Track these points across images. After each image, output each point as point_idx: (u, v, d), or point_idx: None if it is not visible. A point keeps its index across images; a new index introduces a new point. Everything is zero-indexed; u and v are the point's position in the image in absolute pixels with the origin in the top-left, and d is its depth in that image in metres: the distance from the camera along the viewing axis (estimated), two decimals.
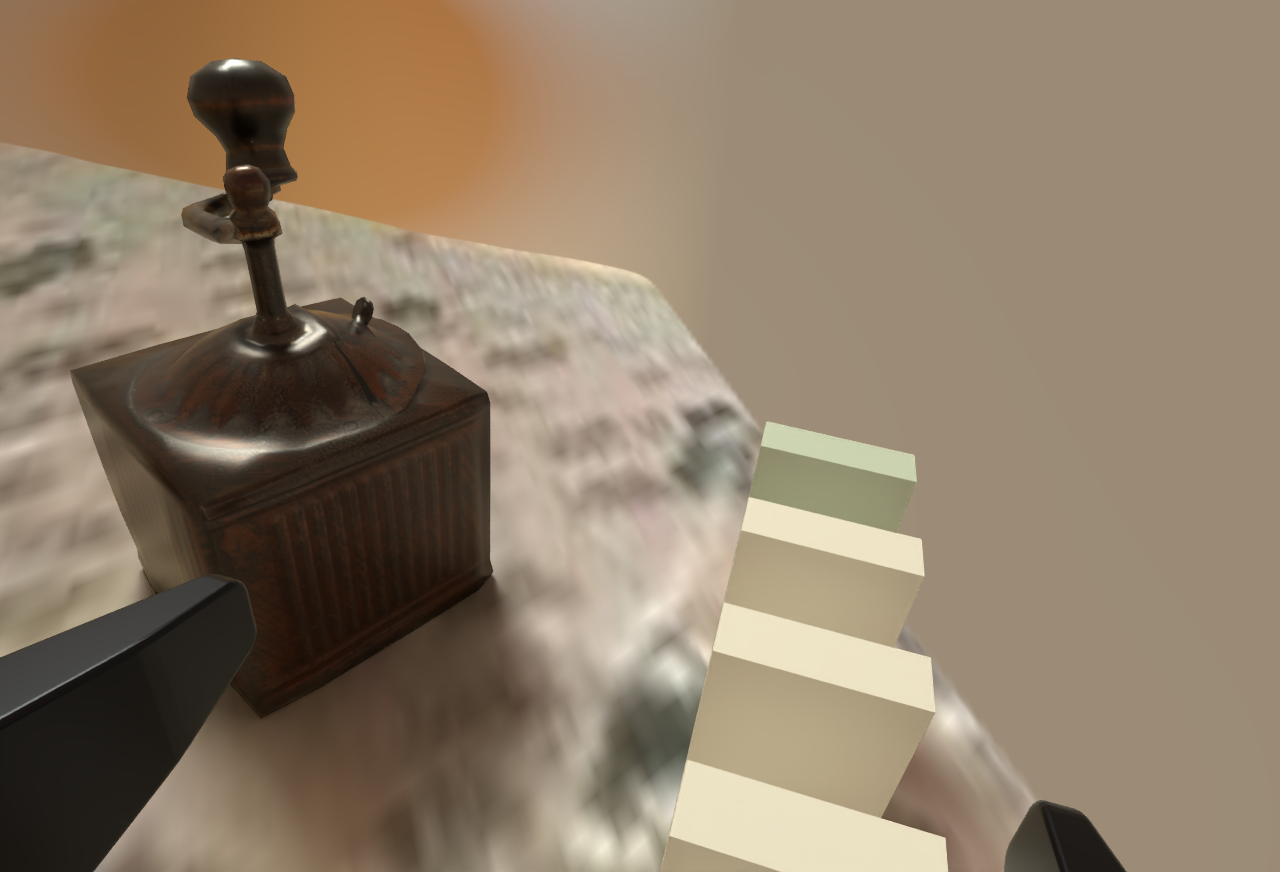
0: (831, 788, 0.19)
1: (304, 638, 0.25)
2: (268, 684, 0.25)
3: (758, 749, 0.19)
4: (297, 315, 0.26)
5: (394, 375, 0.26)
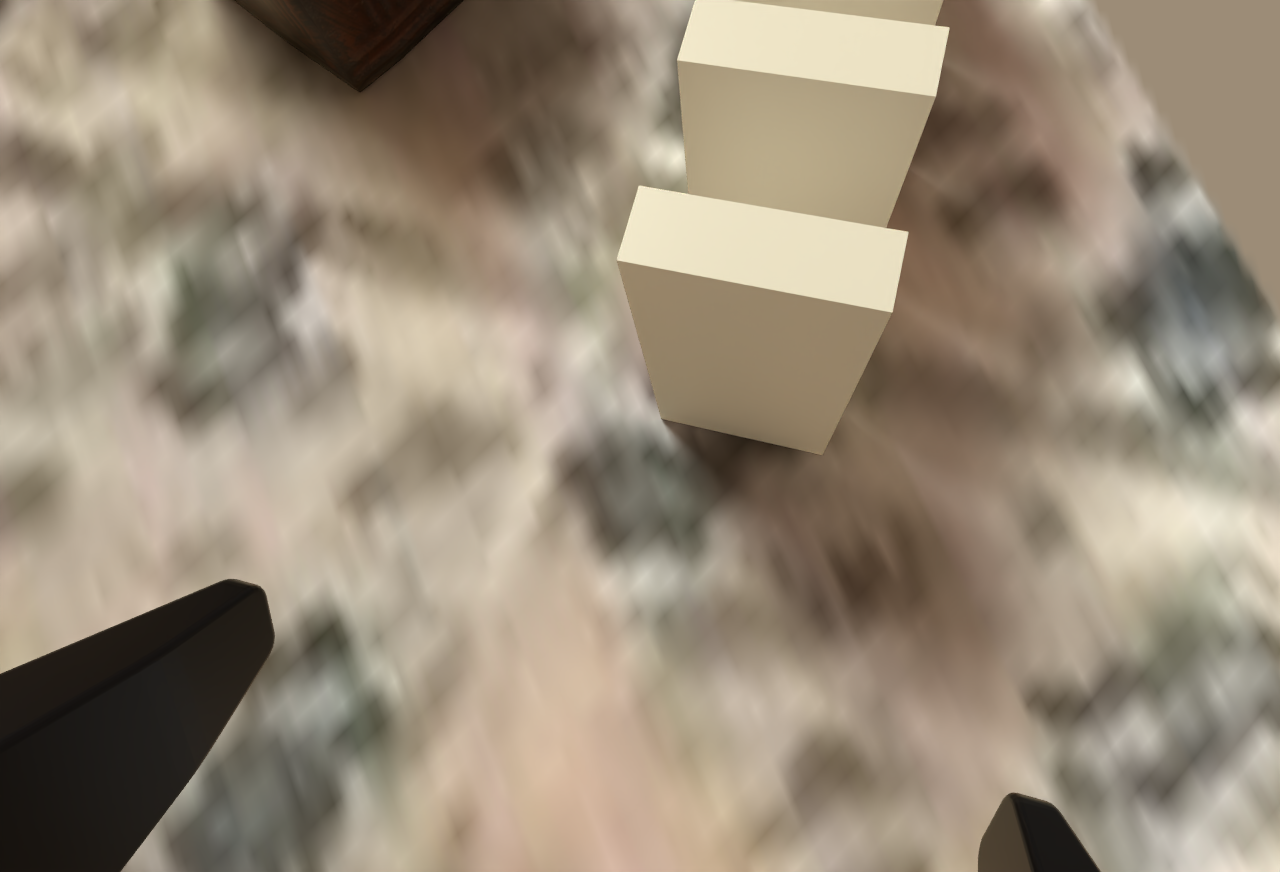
0: None
1: (365, 3, 0.26)
2: (351, 56, 0.27)
3: None
4: None
5: None
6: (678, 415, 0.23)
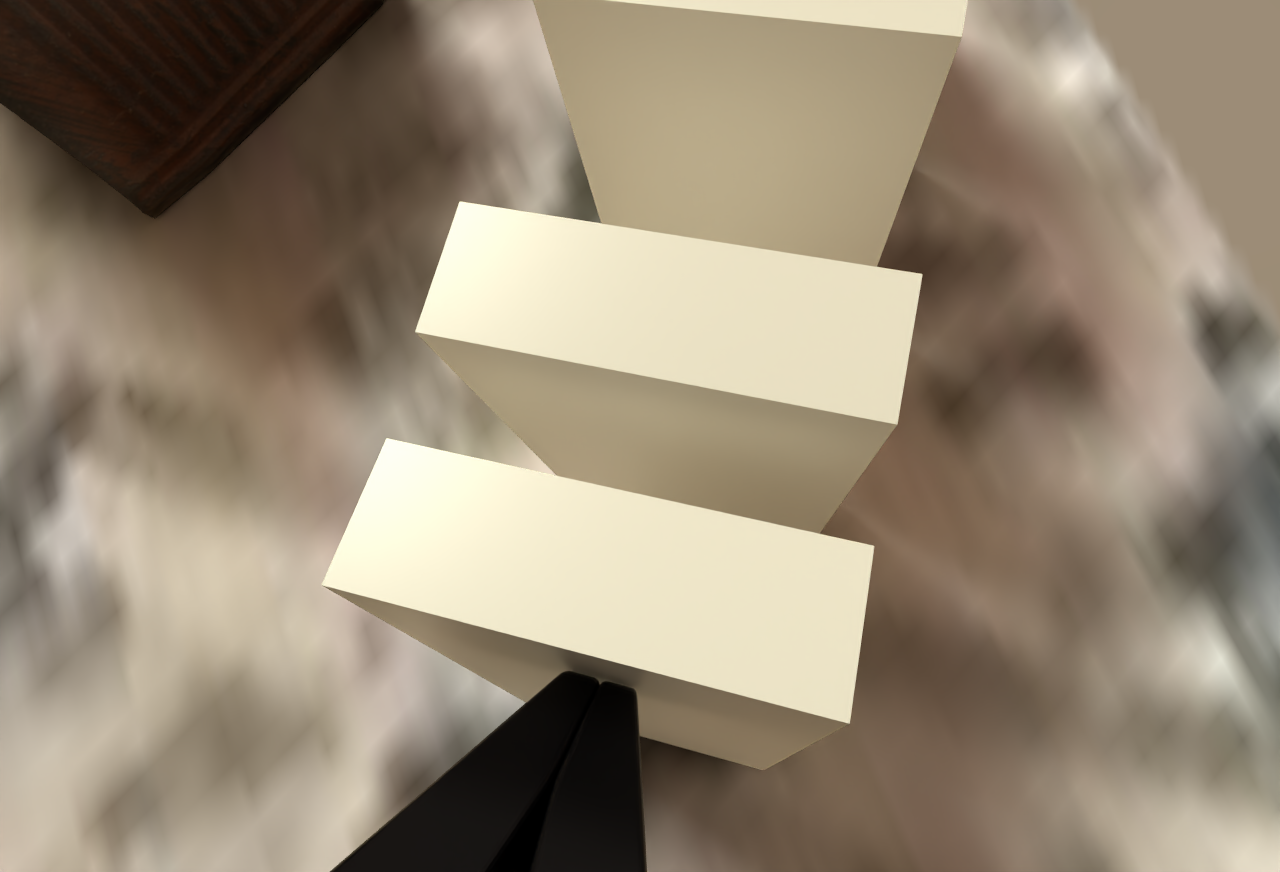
0: (804, 206, 0.12)
1: (136, 111, 0.19)
2: (130, 177, 0.20)
3: (680, 164, 0.12)
4: None
5: None
6: None
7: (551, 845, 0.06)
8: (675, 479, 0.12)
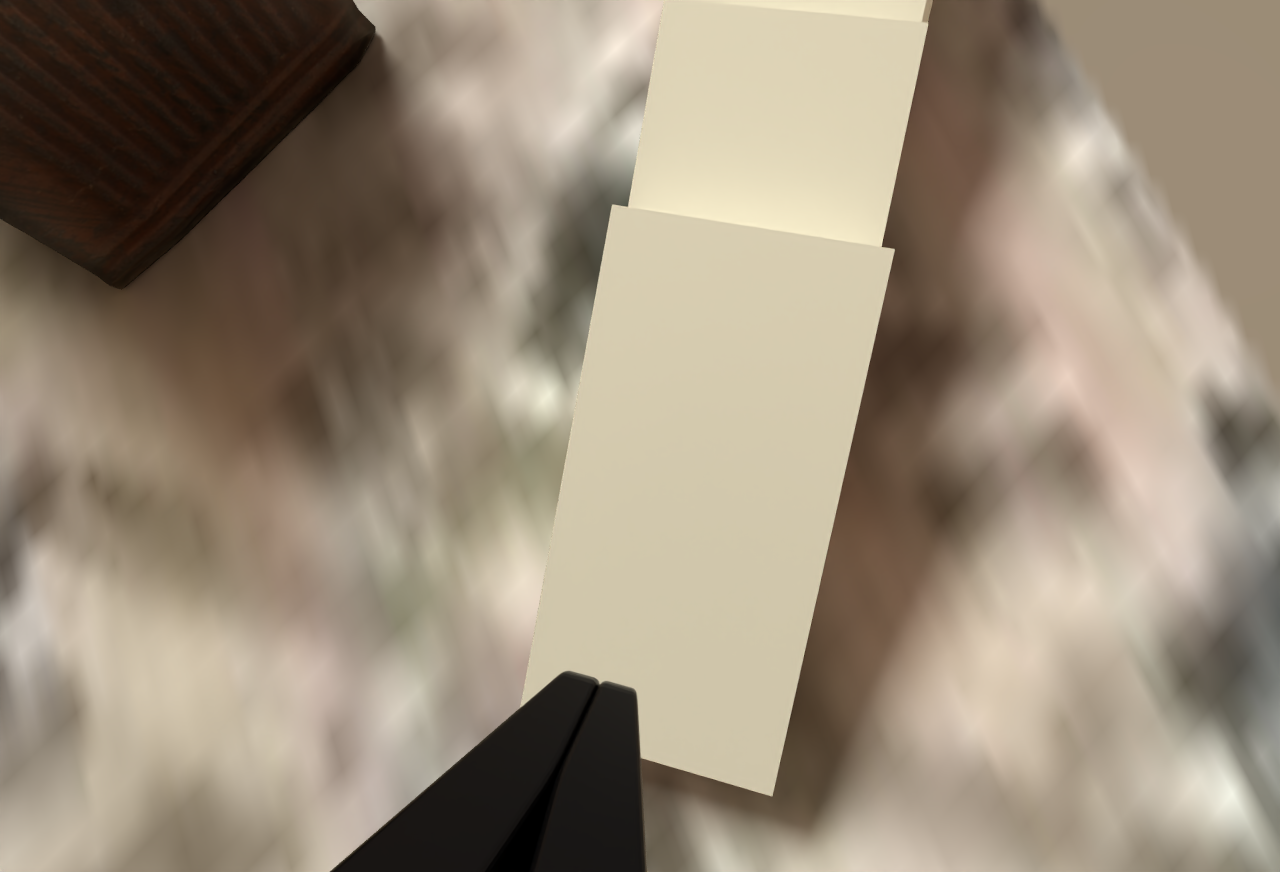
0: (854, 3, 0.16)
1: (98, 187, 0.18)
2: (93, 252, 0.19)
3: None
4: None
5: None
6: None
7: (551, 845, 0.06)
8: None
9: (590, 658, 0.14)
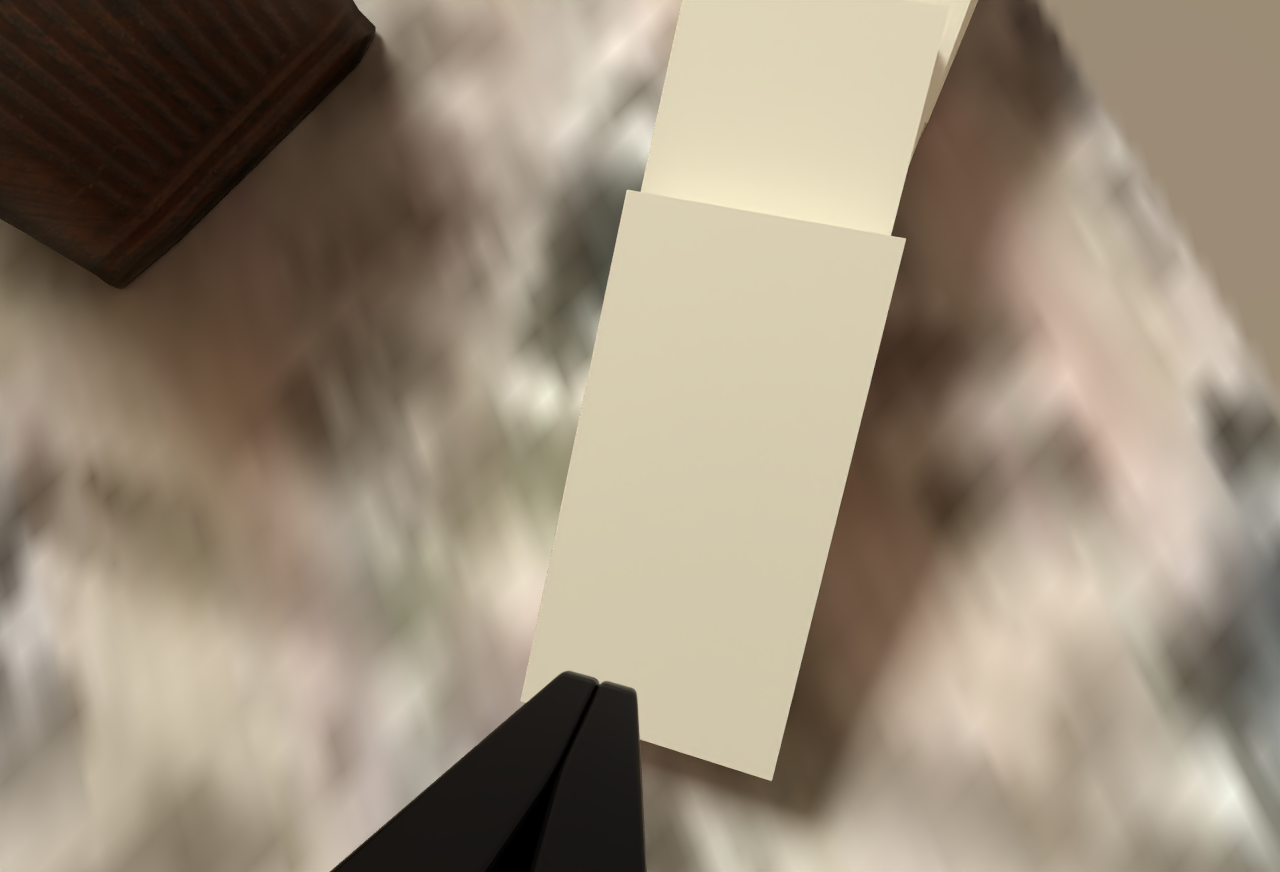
0: None
1: (97, 187, 0.18)
2: (93, 252, 0.19)
3: None
4: None
5: None
6: (556, 674, 0.15)
7: (551, 845, 0.06)
8: None
9: (594, 639, 0.15)
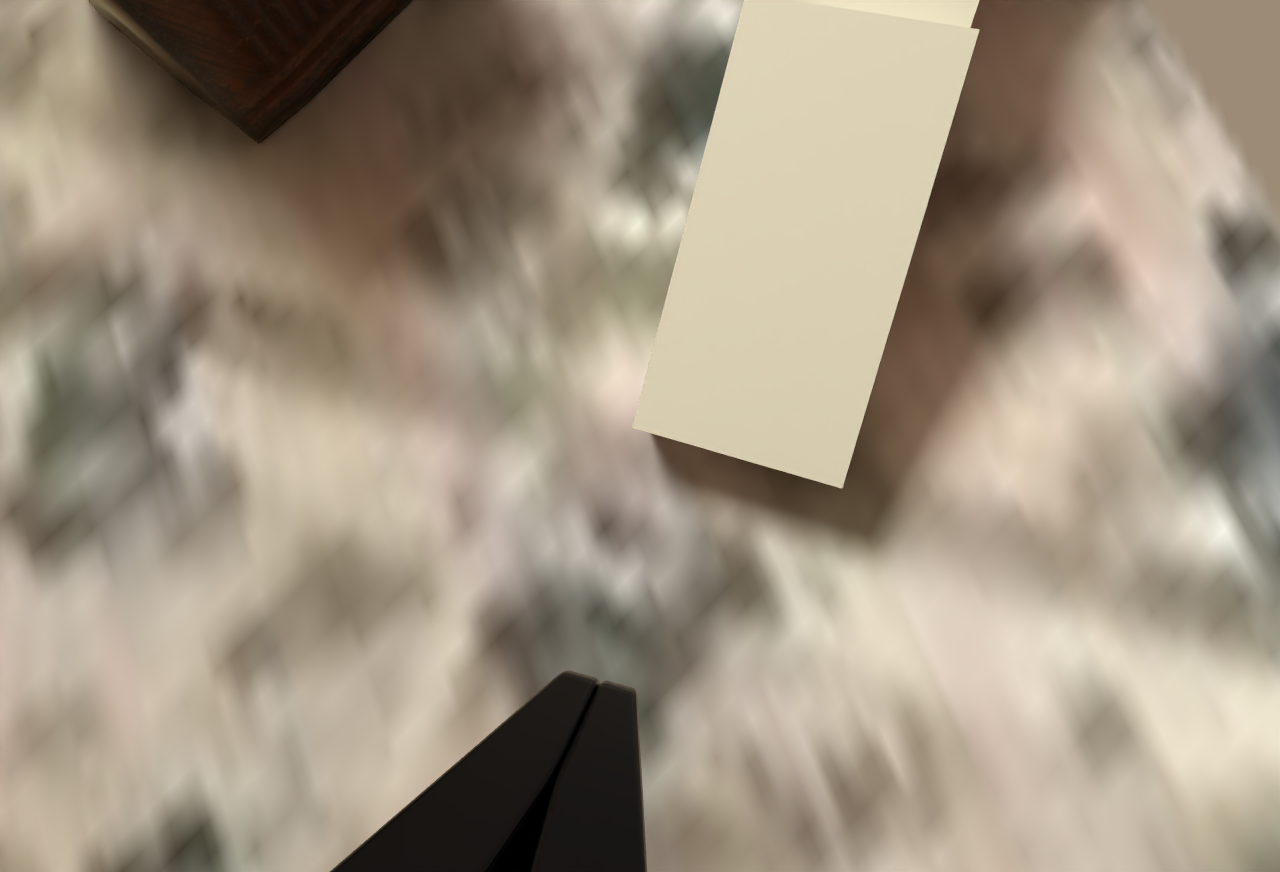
0: None
1: (252, 40, 0.21)
2: (242, 103, 0.22)
3: None
4: None
5: None
6: (664, 404, 0.18)
7: (551, 845, 0.06)
8: None
9: (697, 373, 0.18)
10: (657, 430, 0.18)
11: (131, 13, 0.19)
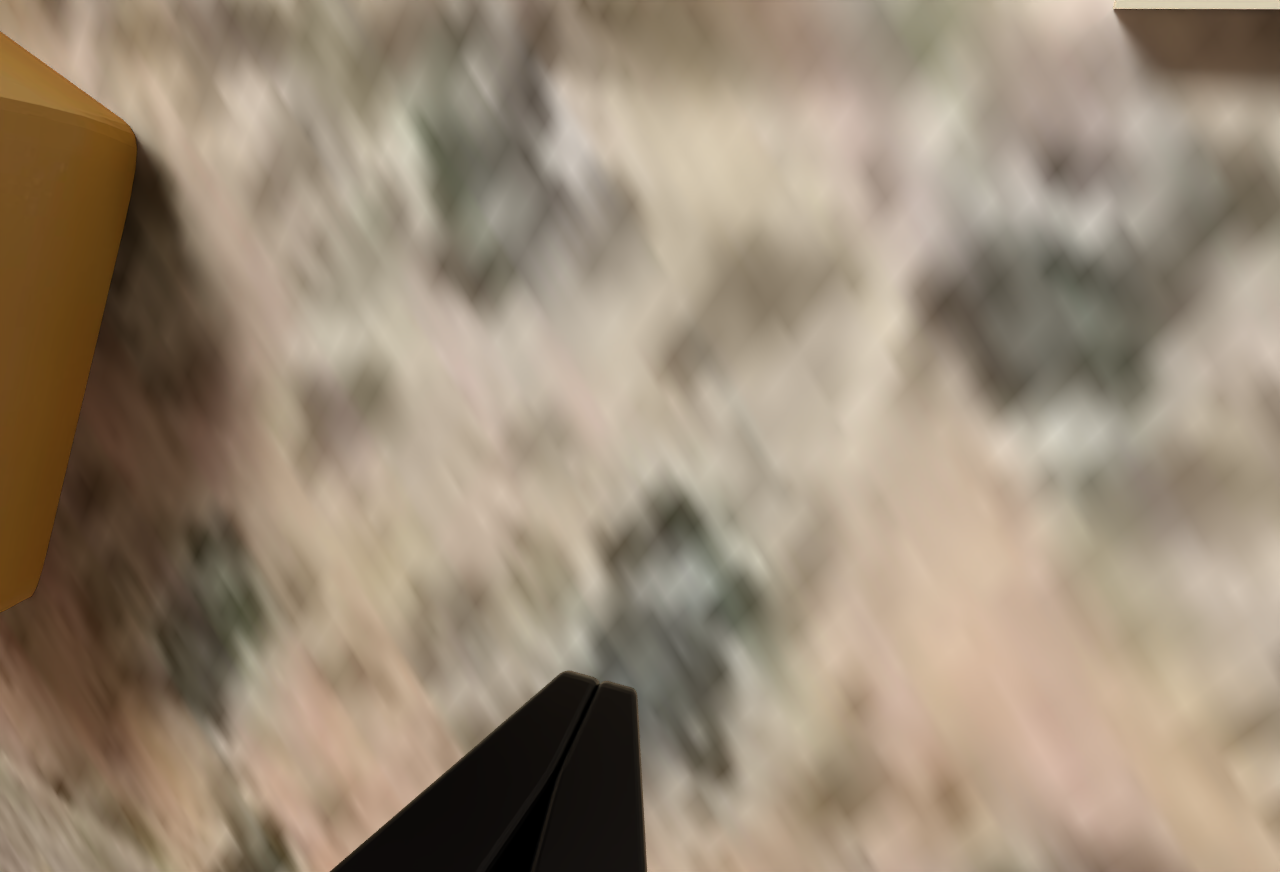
0: None
1: None
2: None
3: None
4: None
5: None
6: None
7: (551, 845, 0.06)
8: None
9: None
10: (1153, 2, 0.14)
11: None
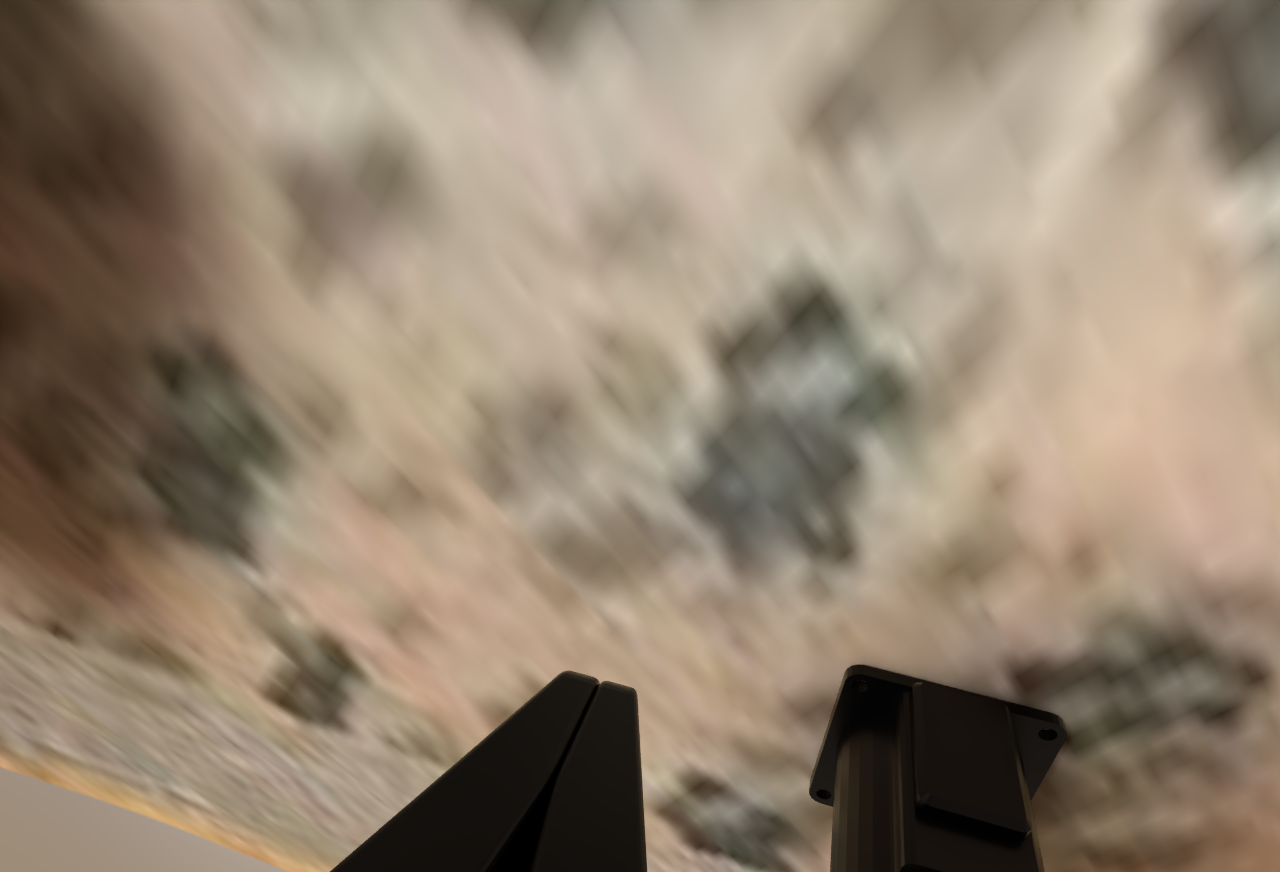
0: None
1: None
2: None
3: None
4: None
5: None
6: None
7: (551, 845, 0.06)
8: None
9: None
10: None
11: None
